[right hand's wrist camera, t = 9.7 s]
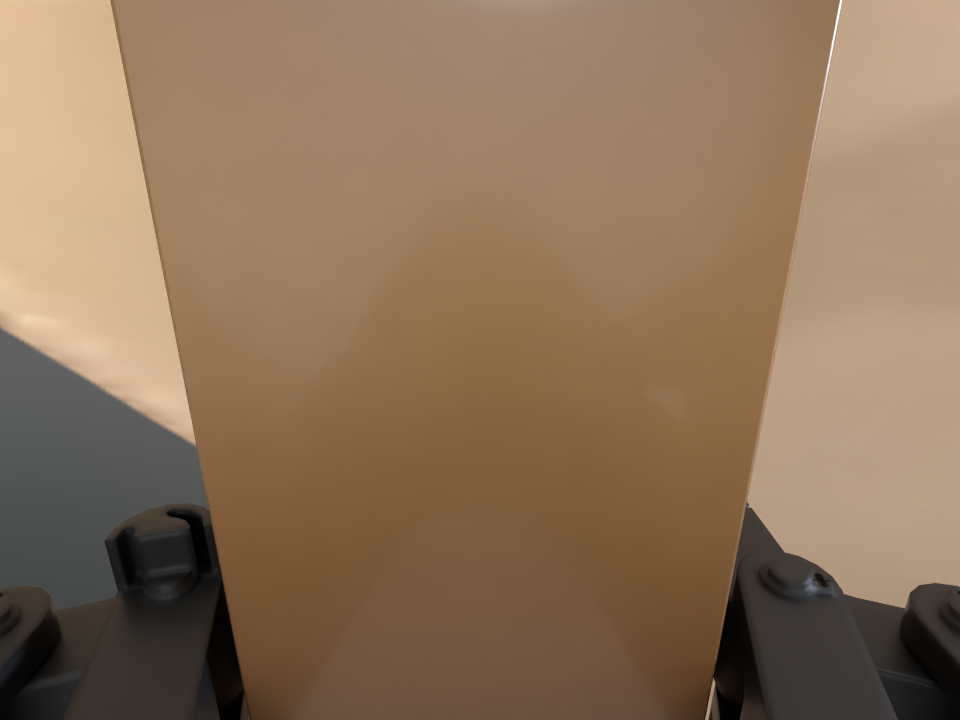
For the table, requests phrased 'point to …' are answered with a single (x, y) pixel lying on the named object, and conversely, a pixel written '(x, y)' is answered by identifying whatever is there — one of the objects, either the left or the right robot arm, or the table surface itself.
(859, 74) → the table surface
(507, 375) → the wooden box
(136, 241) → the table surface
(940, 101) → the table surface
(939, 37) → the table surface
